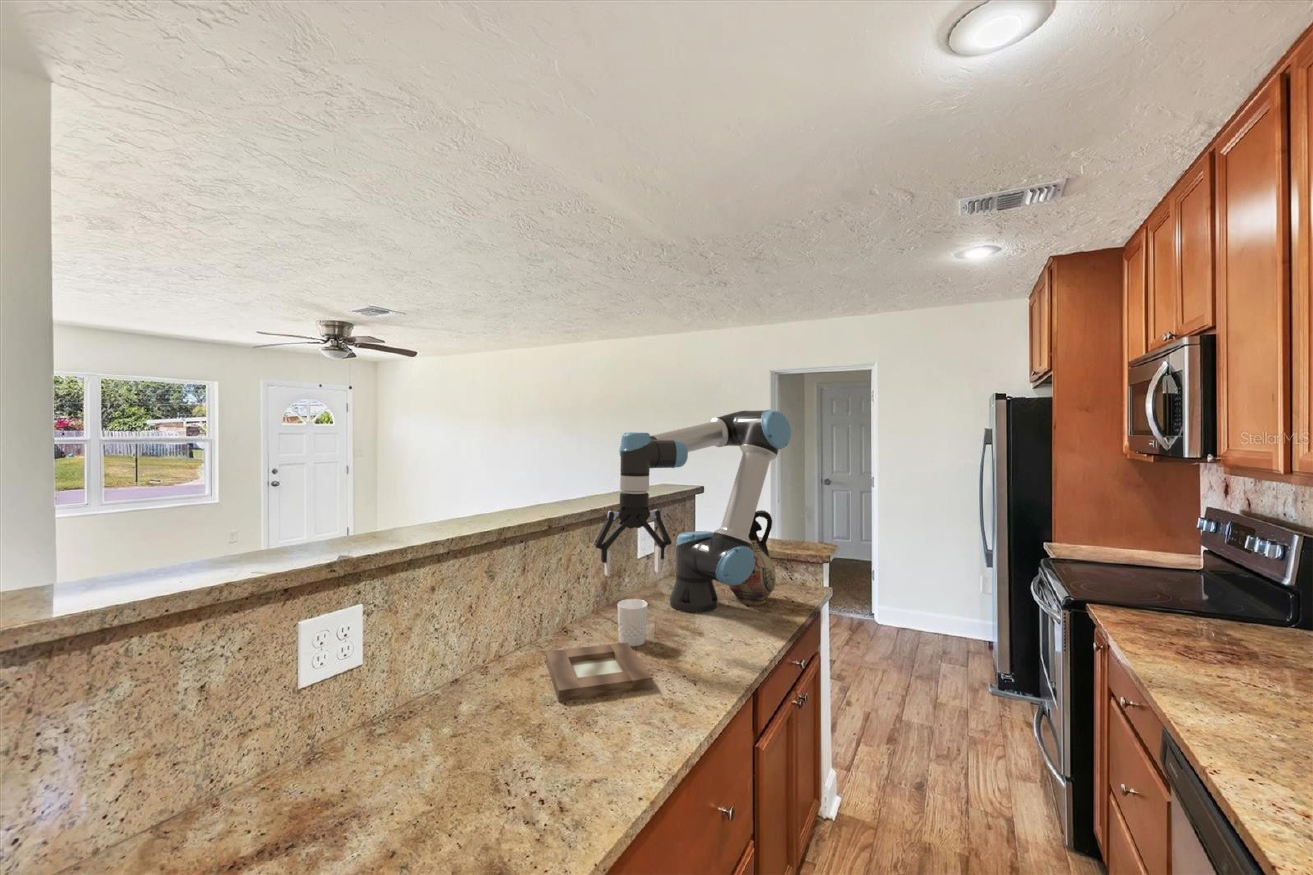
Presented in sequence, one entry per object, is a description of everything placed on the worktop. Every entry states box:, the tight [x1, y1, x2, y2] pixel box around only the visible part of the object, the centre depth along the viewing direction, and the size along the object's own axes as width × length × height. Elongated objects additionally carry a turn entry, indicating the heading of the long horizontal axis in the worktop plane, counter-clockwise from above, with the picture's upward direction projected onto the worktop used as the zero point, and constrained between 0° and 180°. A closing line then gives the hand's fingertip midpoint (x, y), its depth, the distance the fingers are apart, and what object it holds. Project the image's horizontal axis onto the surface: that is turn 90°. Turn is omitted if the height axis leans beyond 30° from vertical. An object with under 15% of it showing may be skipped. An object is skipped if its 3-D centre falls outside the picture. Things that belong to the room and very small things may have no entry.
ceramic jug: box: [728, 509, 777, 606], centre depth 178 cm, size 17×15×30 cm
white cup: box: [617, 598, 649, 648], centre depth 143 cm, size 8×8×10 cm
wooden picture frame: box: [545, 642, 654, 703], centre depth 124 cm, size 20×20×2 cm
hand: (632, 573), depth 143 cm, fingers open, 13 cm apart
